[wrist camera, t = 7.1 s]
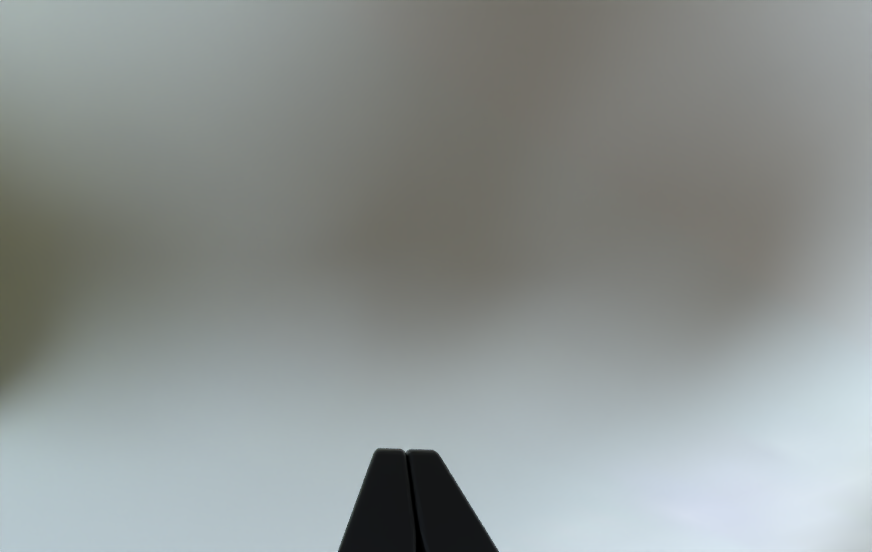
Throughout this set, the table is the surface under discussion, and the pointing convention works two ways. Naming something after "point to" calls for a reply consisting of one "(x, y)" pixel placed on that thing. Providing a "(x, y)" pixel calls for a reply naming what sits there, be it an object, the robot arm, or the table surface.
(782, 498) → the table surface
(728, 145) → the table surface
